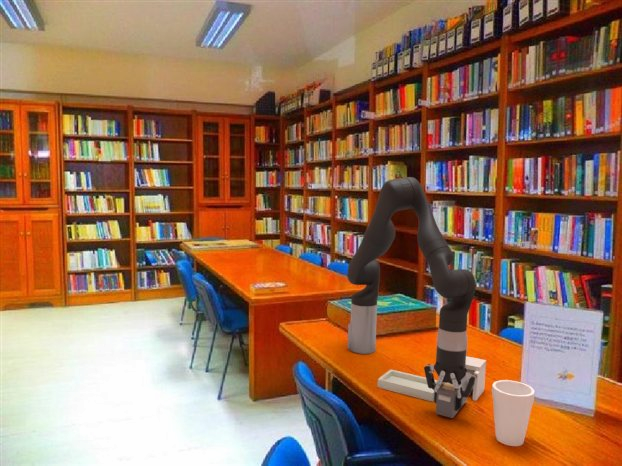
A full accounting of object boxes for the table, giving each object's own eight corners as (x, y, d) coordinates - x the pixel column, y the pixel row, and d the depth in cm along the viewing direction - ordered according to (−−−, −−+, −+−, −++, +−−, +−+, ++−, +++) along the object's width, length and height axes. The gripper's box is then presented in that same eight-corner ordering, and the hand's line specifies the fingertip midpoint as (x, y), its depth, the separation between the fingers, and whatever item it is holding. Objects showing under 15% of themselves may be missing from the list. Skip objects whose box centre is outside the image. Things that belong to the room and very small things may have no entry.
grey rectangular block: (434, 414, 135) (436, 390, 134) (450, 396, 146) (452, 373, 145) (451, 419, 132) (453, 394, 131) (466, 400, 144) (468, 377, 143)
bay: (448, 393, 149) (449, 363, 148) (457, 383, 157) (459, 354, 156) (476, 400, 145) (478, 369, 144) (484, 390, 153) (486, 360, 152)
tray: (377, 387, 153) (377, 379, 153) (390, 377, 161) (390, 369, 161) (432, 401, 144) (433, 393, 144) (443, 390, 152) (443, 382, 152)
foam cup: (526, 454, 118) (530, 399, 116) (485, 442, 123) (488, 390, 121) (533, 436, 126) (537, 385, 124) (494, 426, 131) (497, 377, 129)
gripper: (420, 343, 135) (417, 405, 137) (475, 354, 127) (471, 420, 129) (430, 336, 141) (426, 395, 143) (483, 346, 134) (479, 409, 136)
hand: (448, 407), depth 136 cm, fingers closed on grey rectangular block, 4 cm apart
